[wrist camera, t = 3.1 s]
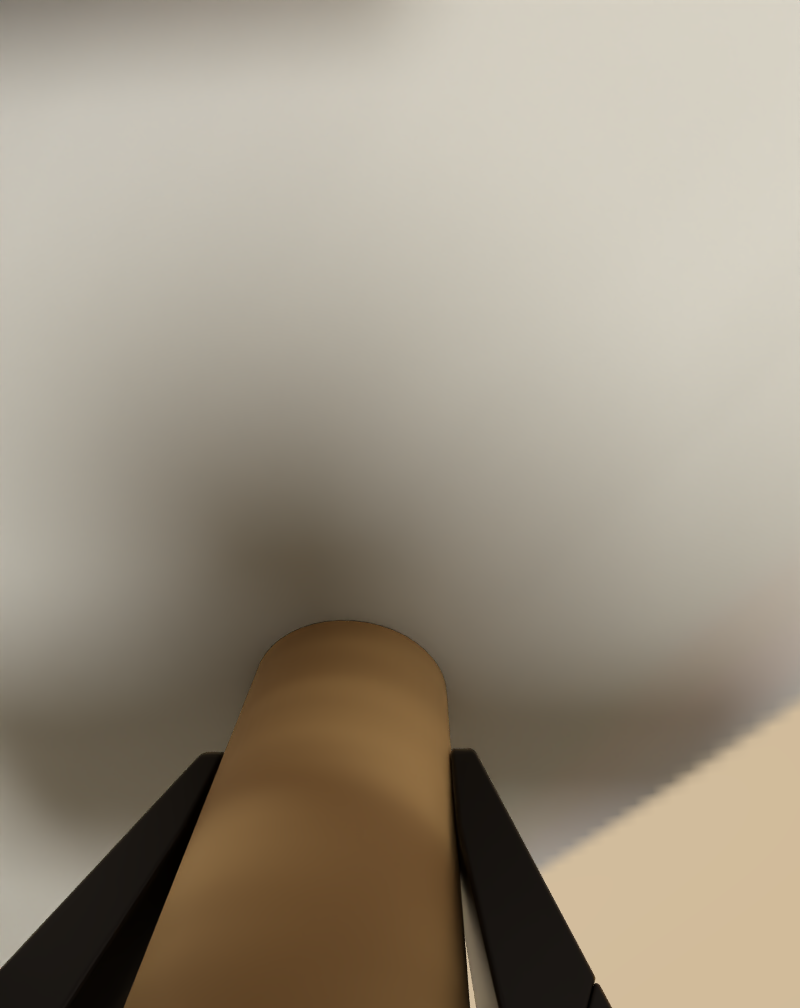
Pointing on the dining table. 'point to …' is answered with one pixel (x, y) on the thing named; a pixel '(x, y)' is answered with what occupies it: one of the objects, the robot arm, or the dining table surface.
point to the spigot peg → (322, 841)
